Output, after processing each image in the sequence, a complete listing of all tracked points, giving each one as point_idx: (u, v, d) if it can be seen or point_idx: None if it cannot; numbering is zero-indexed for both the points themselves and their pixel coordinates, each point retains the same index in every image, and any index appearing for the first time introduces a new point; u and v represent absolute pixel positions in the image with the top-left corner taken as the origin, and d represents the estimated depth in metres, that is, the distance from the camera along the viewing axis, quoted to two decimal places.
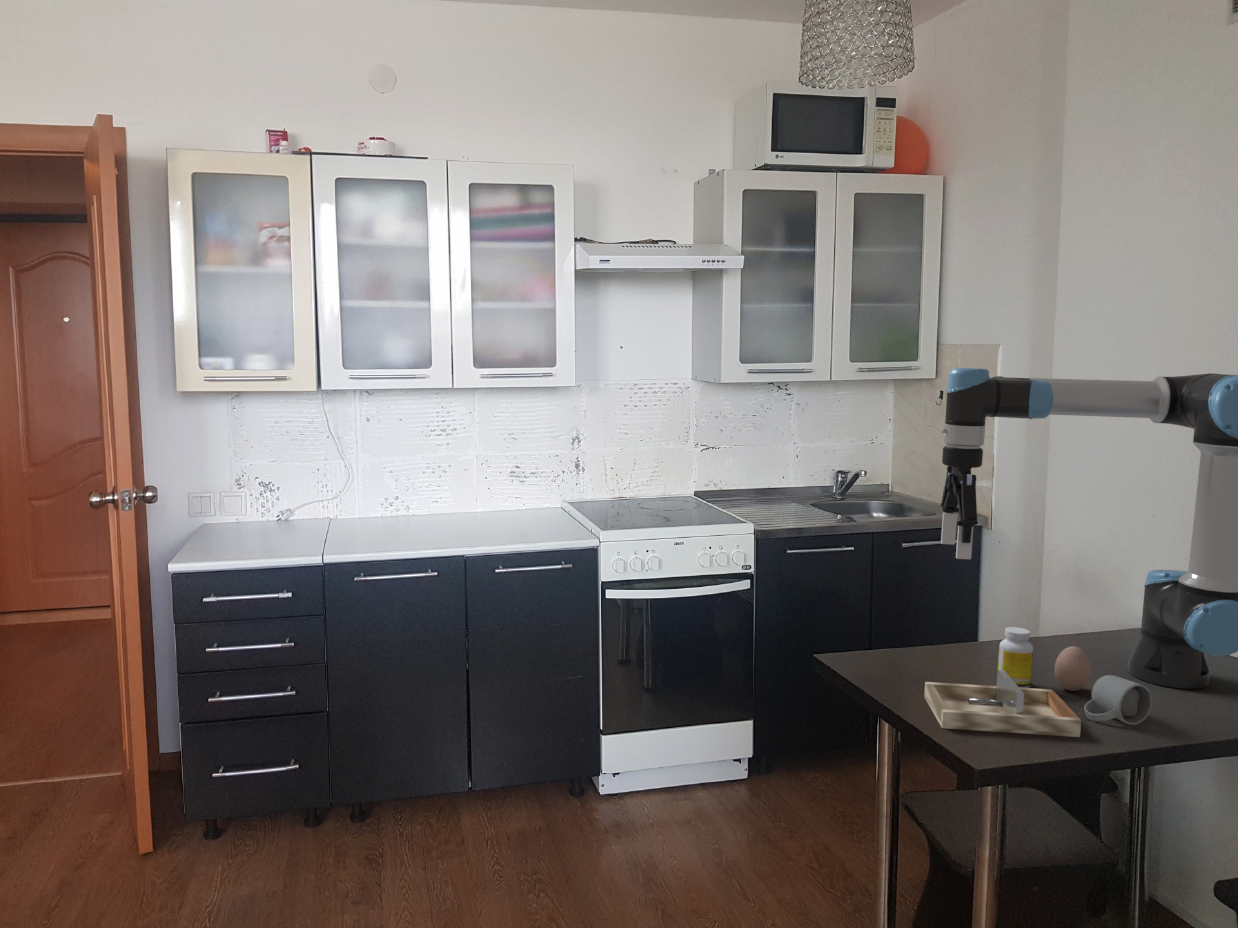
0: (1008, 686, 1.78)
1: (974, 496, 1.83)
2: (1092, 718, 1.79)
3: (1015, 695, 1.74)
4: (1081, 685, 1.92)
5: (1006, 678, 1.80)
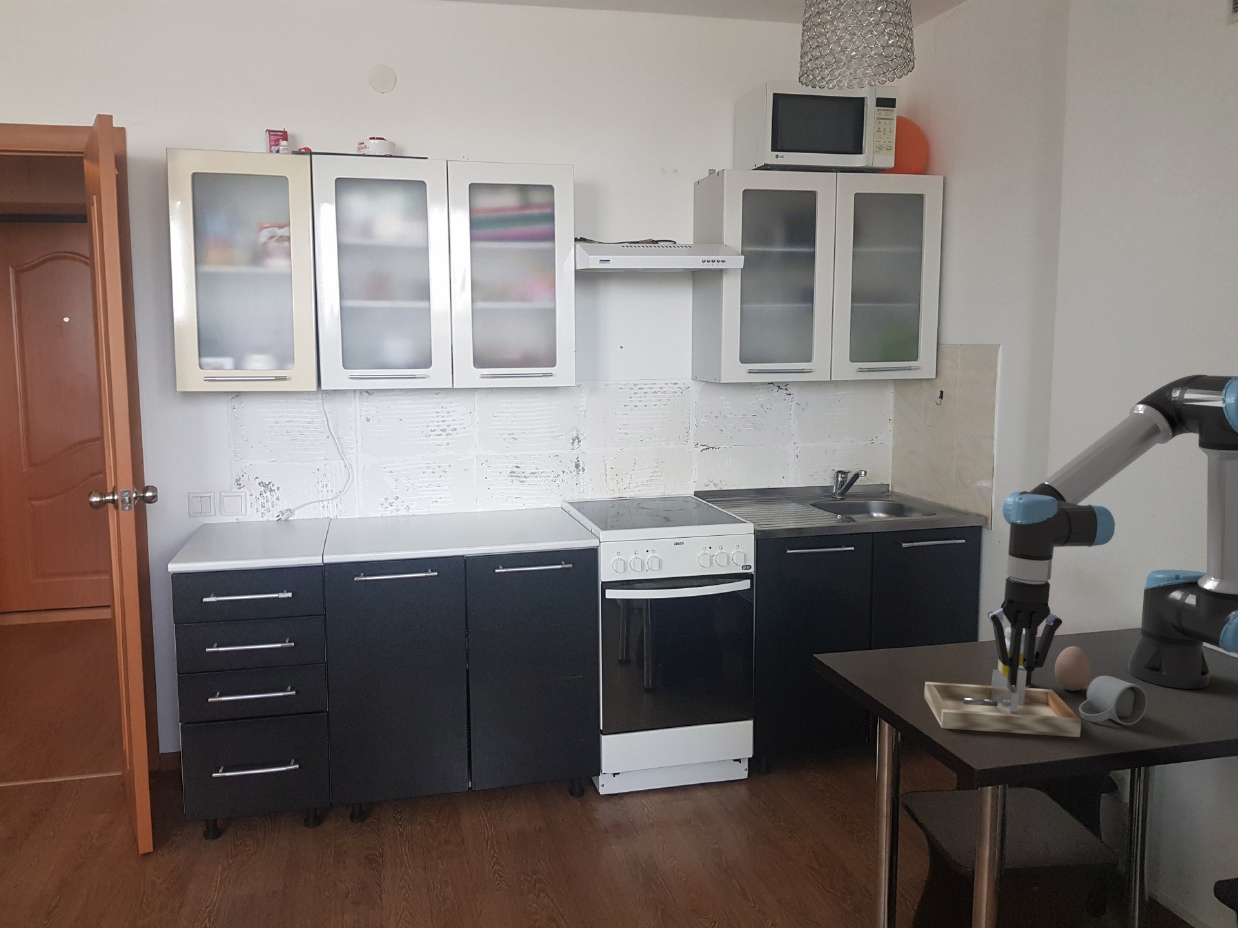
0: (1002, 686, 1.78)
1: (997, 637, 1.77)
2: (1087, 718, 1.79)
3: (1010, 695, 1.74)
4: (1081, 685, 1.92)
5: (1001, 678, 1.81)
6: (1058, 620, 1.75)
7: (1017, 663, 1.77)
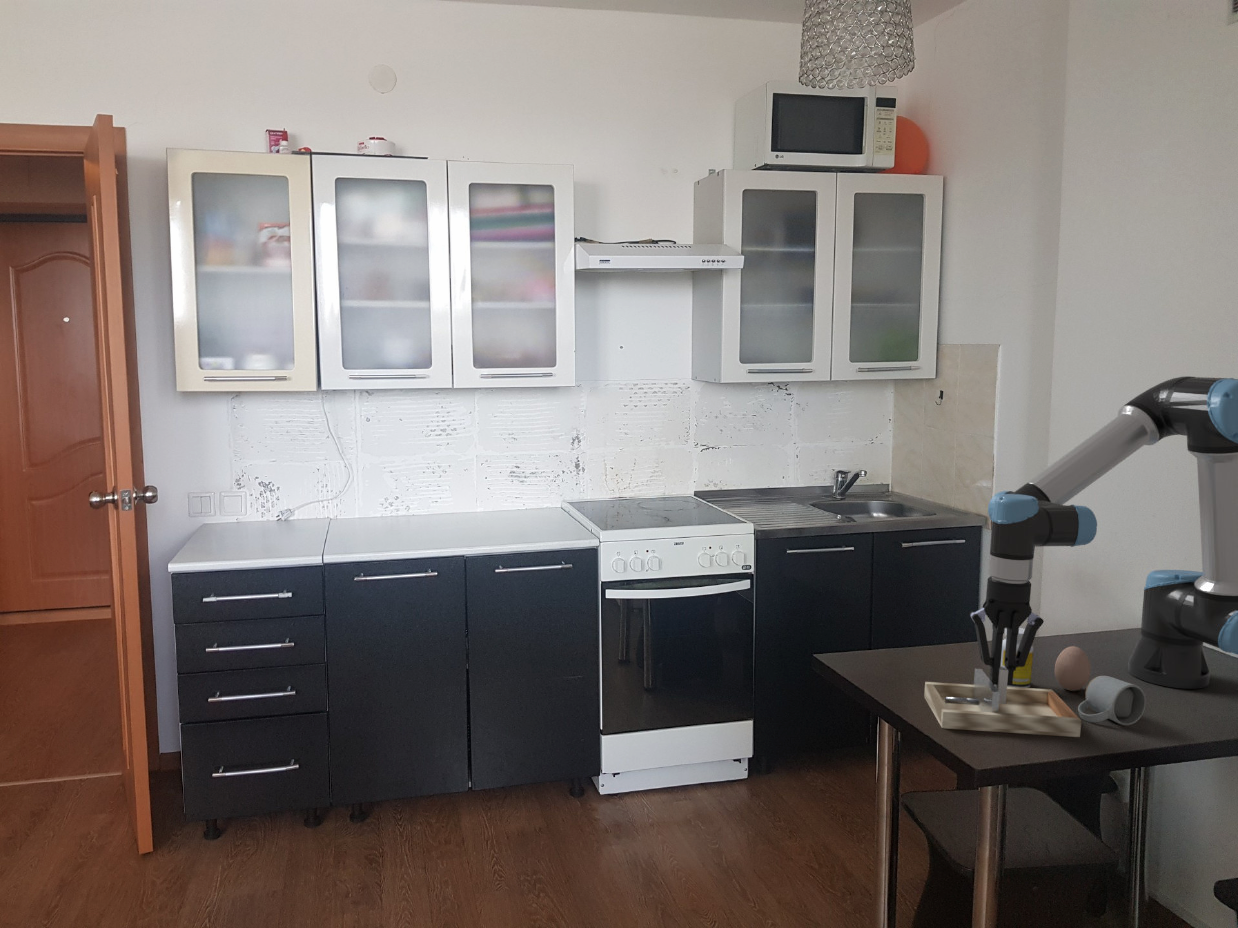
0: (984, 684, 1.79)
1: (979, 637, 1.78)
2: (1086, 719, 1.79)
3: (991, 693, 1.74)
4: (1081, 685, 1.92)
5: (983, 677, 1.81)
6: (1039, 620, 1.76)
7: (999, 662, 1.77)
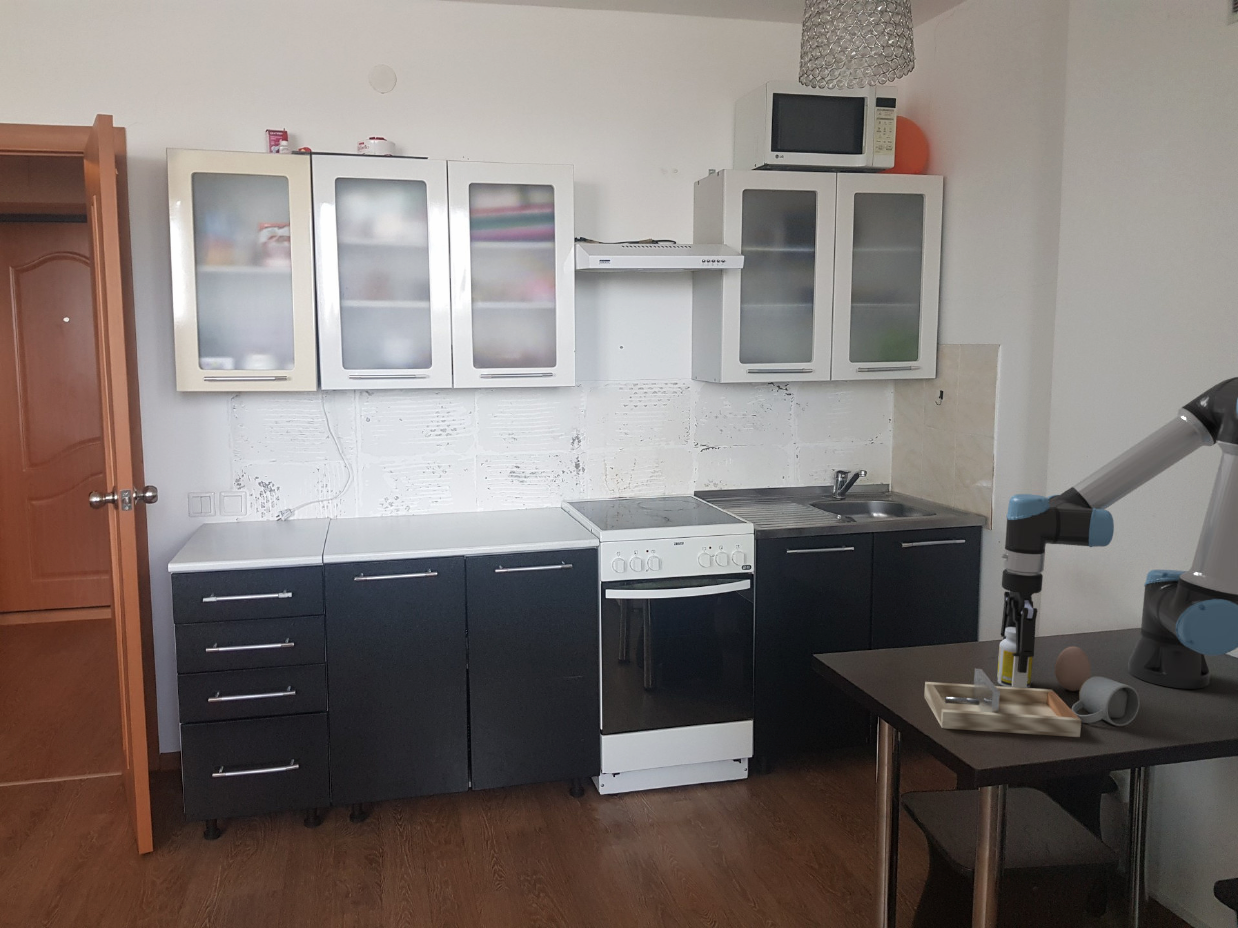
0: (984, 684, 1.79)
1: (1033, 630, 1.89)
2: None
3: (991, 693, 1.74)
4: (1081, 685, 1.92)
5: (983, 677, 1.81)
6: None
7: None
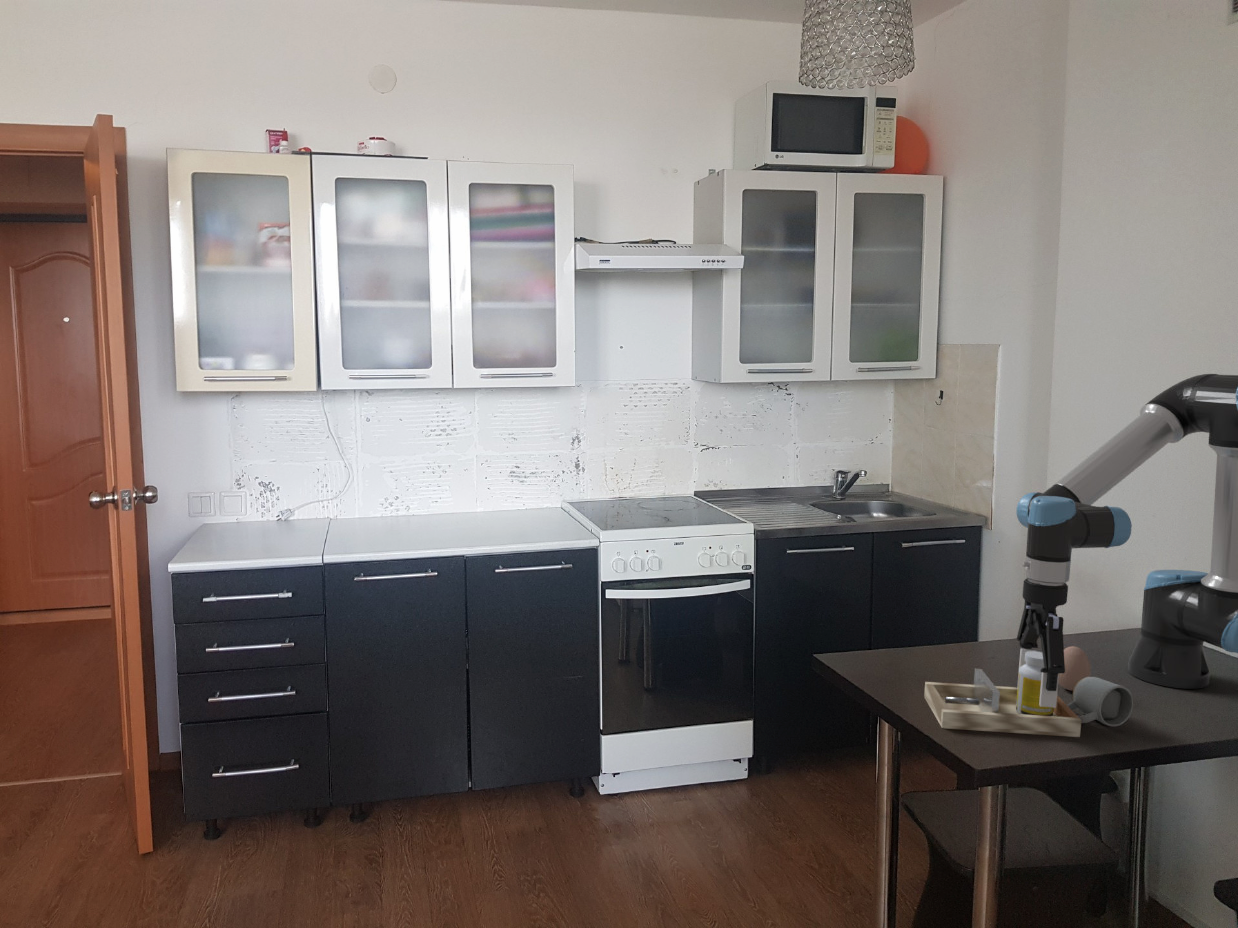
0: (984, 684, 1.79)
1: (1061, 641, 1.69)
2: None
3: (991, 693, 1.74)
4: None
5: (983, 677, 1.81)
6: None
7: None
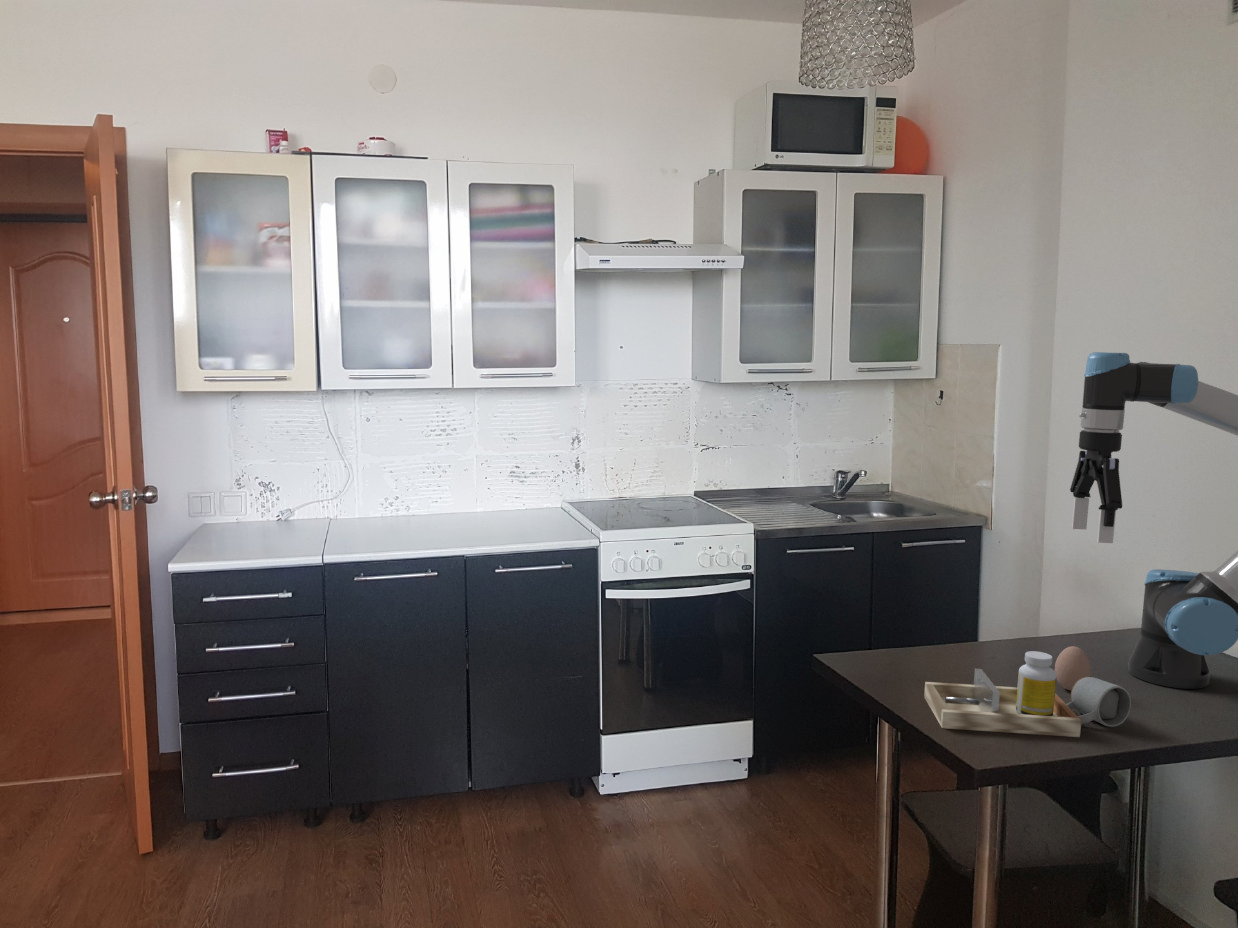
0: (984, 684, 1.79)
1: (1118, 480, 1.83)
2: None
3: (991, 693, 1.74)
4: None
5: (983, 677, 1.81)
6: None
7: None
